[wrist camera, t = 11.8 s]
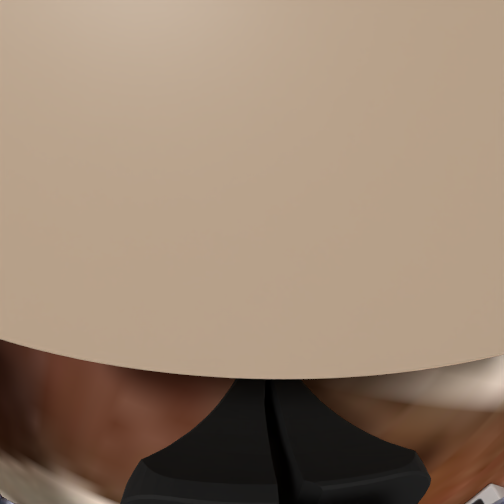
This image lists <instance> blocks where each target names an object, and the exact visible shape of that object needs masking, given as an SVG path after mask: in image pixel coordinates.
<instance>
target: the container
mask: <svg viewBox="0 0 504 504" xmlns="http://www.w3.org/2000/svg"><path fill="white" fill-rule="evenodd" d="M503 497H504V487H501V486H498V485H495V484H489V485H487V486H486V487H485V488H484V489H483V490H481V491H480V492H479V493H478V494H477V495H475V496H474V497H473V498H472V499H470V500H469V501H468V502H466V503H465V504H492V503H494V502H496V501H498V500H499V499H501V498H503Z"/></svg>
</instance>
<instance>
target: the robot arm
mask: <svg viewBox="0 0 504 504" xmlns="http://www.w3.org/2000/svg"><path fill="white" fill-rule="evenodd" d="M430 482H431V477H430V476H429V474H428V472H427V470H426V468H425V466H424V464H423V462H422V460H421V459H420V458H419V456H418V455H417V453H416V452H415V451H413V450H410V449H407V448H404V447H401V446H398V445H395V444H392V443H389V442H386V441H384V440H381V439H379V438H377V437H375V436H372V435H370V434H368V433H366V432H364V431H363V430H361V429H359V428H357V427H356V426H354V425H352V424H351V423H349V422H347V421H346V420H344V419H343V418H341V417H340V416H338V415H337V414H336V413H334V412H333V411H332V410H331V409H329V408H328V407H327V406H326V405H324V404H323V403H322V402H321V401H320V400H319V399H318V398H317V397H316V396H315V395H314V394H313V393H312V392H311V391H310V390H309V389H308V388H307V386H306V385H305V384H304V383H303V382H302V381H301V380H300V379H247V378H236V379H235V381H234V383H233V384H232V386H231V388H230V389H229V390H228V392H227V393H226V395H225V396H224V397H223V399H222V400H221V401H220V403H219V404H218V405H217V406H216V407H215V408H214V410H213V411H212V412H211V413H210V414H209V415H208V416H207V417H206V418H205V419H204V420H202V421H201V422H200V423H199V424H198V425H197V426H196V427H195V428H193V429H192V430H191V431H190V432H188V433H187V434H186V435H184V436H183V437H181V438H180V439H178V440H177V441H175V442H174V443H172V444H171V445H169V446H168V447H166V448H164V449H162V450H160V451H158V452H156V453H154V454H152V455H150V456H148V457H146V458H144V459H142V460H141V461H140V462H139V463H138V465H137V467H136V468H135V470H134V471H133V473H132V475H131V477H130V479H129V480H128V483H127V485H126V488H125V491H124V494H123V497H122V500H121V503H120V504H418V502H419V501H420V500H421V498H422V497H423V496H424V494H425V493H426V491H427V489H428V487H429V486H430ZM0 504H14V503H13V502H11V501H9V500H7V499H6V498H4V497H2V496H1V494H0ZM492 504H504V497H503V498H501V499H499V500H498V501H496V502H494V503H492Z"/></svg>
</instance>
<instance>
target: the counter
mask: <svg viewBox="0 0 504 504" xmlns="http://www.w3.org/2000/svg"><path fill="white" fill-rule="evenodd" d="M0 339H2V340H5V341H8V342H12V343H15V344H19V345H22V346H26V347H30V348H34V349H38V350H42V351H46V352H50V353H54V354H58V355H63V356H67V357H72V358H77V359H82V360H87V361H92V362H97V363H103V364H108V365H114V366H121V367H127V368H134V369H141V370H149V371H157V372H165V373H174V374H184V375H196V376H209V377H225V378H247V379H321V378H343V377H359V376H371V375H382V374H392V373H401V372H410V371H417V370H424V369H431V368H438V367H444V366H450V365H456V364H461V363H466V362H472V361H477V360H481V359H486V358H490V357H495V356H499V355H503V354H504V0H0Z"/></svg>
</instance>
